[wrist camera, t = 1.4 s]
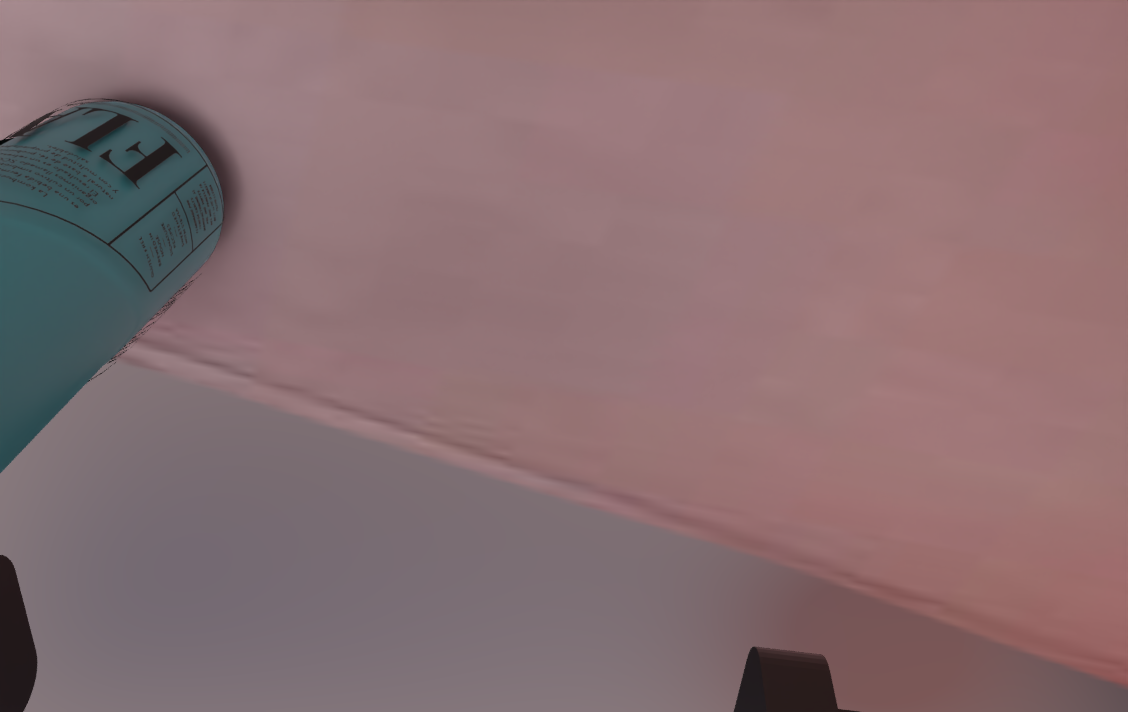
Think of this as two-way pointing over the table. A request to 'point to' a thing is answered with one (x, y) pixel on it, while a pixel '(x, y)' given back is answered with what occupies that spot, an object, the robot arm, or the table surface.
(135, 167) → the beverage bottle
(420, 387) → the table surface
